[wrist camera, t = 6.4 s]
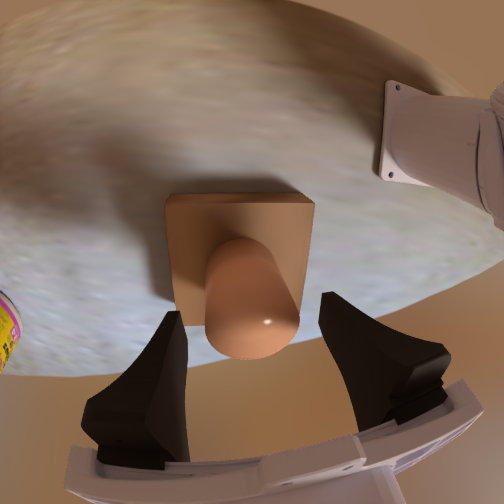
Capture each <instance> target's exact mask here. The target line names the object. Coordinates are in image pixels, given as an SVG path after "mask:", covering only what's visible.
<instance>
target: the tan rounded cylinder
mask: <svg viewBox="0 0 504 504" xmlns="http://www.w3.org/2000/svg"><path fill="white" fill-rule="evenodd" d="M299 322H300V316H299V312H298V309H297V307H296V304H295V302H294V300H293V298H292V295H291V293H290V291H289V289H288V287H287V285H286V282H285V280H284V278H283V276H282V274H281V271H280V269H279V267H278V265H277V263H276V261H275V258H274V256H273V255H272V253H271V251H270V250H269V249H268V248H267V247H266V246H265V245H263V244H262V243H260V242H258V241H255V240H251V239H244V238H243V239H234V240H230V241H227V242H225V243H223V244H221V245H220V246H219V247H217V248H216V249H215V250H214V251H213V252H212V253H211V255H210V256H209V258H208V260H207V263H206V268H205V333H206V336H207V339H208V341H209V343H210V344H211V345H212V346H213V347H214V348H215V349H216V350H217V351H218V352H220V353H222V354H223V355H226V356H228V357H231V358H236V359H243V360H250V359H258V358H263V357H266V356H269V355H272V354H274V353H276V352H278V351H279V350H281V349H282V348H283V347H285V346H286V345H287V344H288V343H289V342H290V341H291V340H292V339H293V337H294V336H295V334H296V332H297V330H298V327H299Z"/></svg>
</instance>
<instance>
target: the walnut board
mask: <svg viewBox="0 0 504 504" xmlns="http://www.w3.org/2000/svg"><path fill="white" fill-rule="evenodd" d="M164 206H165V219H166V231H167V241H168V251H169V260H170V268H171V276H172V284H173V291H174V298H175V305H176V311H179V310H180V313H181V317H182V321H183V325H184V326H200V325H205V268H206V263H207V260H208V258H209V256H210V255H211V253H212V252H213V251H214V250H215V249H216V248H217V247H219V246H220V245H221V244H223V243H225V242H227V241H230V240H234V239H243V238H244V239H251V240H255V241H258V242H260V243H262V244H263V245H265V246H266V247H267V248H268V249H269V250H270V251H271V253H272V255H273V256H274V258H275V261H276V263H277V265H278V267H279V269H280V271H281V274H282V276H283V278H284V280H285V282H286V285H287V287H288V289H289V291H290V293H291V295H292V298H293V300H294V302H295V304H296V307H297V309H298V312H299V314H300V308H301V302H302V296H303V289H304V283H305V277H306V270H307V263H308V256H309V249H310V241H311V233H312V225H313V217H314V208H315V203H314V202H313V201H312V200H310V199H309V198H308V197H306V196H305V195H304V194H303V193H201V194H176V195H170V196H169V198H168V200H167V202H166V204H165V205H164Z"/></svg>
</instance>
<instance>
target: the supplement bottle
mask: <svg viewBox="0 0 504 504" xmlns="http://www.w3.org/2000/svg"><path fill="white" fill-rule="evenodd" d="M22 330H23V326H22V321H21V318H20V316H19V313H18V312H17V310H16V308H15V307H14V305H13V304H12V303H11V302H10V300H9V299H8V298H7V297H5V296H4V295H3V294H2V293H0V374H1V372H2V370H3V368H4V366H5V364H6V362H7V360H8V358H9V356H10V355H11V353H12V351H13V349H14V347H15V346H16V344H17V342H18V340H19V339H20V337H21V335H22Z"/></svg>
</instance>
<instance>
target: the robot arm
mask: <svg viewBox="0 0 504 504" xmlns="http://www.w3.org/2000/svg"><path fill="white" fill-rule="evenodd" d="M396 86H397V88H398V90H396ZM389 172H391V175H390V176H389V175H388V174H389ZM379 177H380V178H381V179H383V180H386V181H394V182H402V183H409V184H416V185H423V186H429V187H435V188H437V189H439V190H442V191H444V192H446V193H448V194H451V195H453V196H455V197H457V198H459V199H461V200H463V201H465V202H468V203H470V204H472V205H474V206H476V207H478V208H480V209H481V210H483V211H485V212H487V213H489V214H491V215H492V217H493V219H494V225H495V226H496V227H497V228H499V229H501V230H502V231H504V82H502V83H500V84H499V85H498V86H497V87H496V89H495V91H494V92H493V93H492V94H491V96H490V100H489V99H480V98H471V97H458V96H439V95H430V94H428V93H425V92H423V91H420V90H418V89H415V88H413V87H410V86H408V85H405V84H402V83H399V82H397V81H394V80H388V81H387V82H386V84H385V108H384V124H383V136H382V147H381V156H380V165H379ZM318 324H319V327H320V330H321V333H322V335H323V338H324V340H325V342H326V344H327V346H328V348H329V350H330V352H331V354H332V356H333V358H334V360H335V362H336V364H337V366H338V368H339V370H340V372H341V374H342V376H343V379H344V382H345V384H346V387H347V390H348V393H349V396H350V399H351V403H352V406H353V410H354V413H355V417H356V421H357V425H358V430H359V433H357V434H353V435H348V436H343V437H339V438H336V439H332V440H328V441H325V442H321V443H317V444H313V445H309V446H306V447H301V448H297V449H291V450H286V451H282V452H278V453H274V454H271V455H267V456H261V457H254V458H245V459H236V460H226V461H210V462H190V456H189V448H188V440H187V429H186V416H185V386H186V375H187V364H188V340H187V336H186V332H185V329H184V325H183V321H182V317H181V313H180V310H179V311H168V312H167V313H166V315H165V317H164V318H163V320H162V322H161V324H160V325H159V327H158V329H157V330H156V332H155V334H154V335H153V337H152V338H151V340H150V341H149V343H148V344H147V346H146V347H145V348H144V350H143V351H142V353H141V354H140V355H139V356H138V358H137V359H136V360H135V361H134V362H133V363H132V365H131V366H130V367H129V368H128V369H127V370H126V371H125V372H124V373H123V374H122V375H121V376H120V377H119V378H117V379H116V380H115V381H114V382H113V383H111V384H110V385H109V386H108V387H106V388H105V389H104V390H102V391H101V392H99V393H98V394H96V395H95V396H93V397H92V398H90V399H88V400H87V403H86V406H85V409H84V413H83V417H82V422H81V427H82V429H83V430H84V432H85V433H86V434H87V435H88V436H89V437H90V438H91V439H93V440H94V441H95V442H96V443H97V444H98V445H99V446H98V451H97V450H95V449H93V448H89V447H83V446H78V445H74V444H72V445H71V446H70V452H69V456H68V462H67V468H66V475H65V481H64V489H65V490H67V491H69V492H71V493H73V494H75V495H77V496H79V497H81V498H84V499H85V500H88V501H90V502H92V503H95V504H406V502H405V499H404V497H403V495H402V492H401V490H400V487H399V485H398V483H397V480H396V478H395V476H394V475H395V474H397V473H399V472H401V471H403V470H405V469H406V468H408V467H410V466H412V465H414V464H415V463H417V462H419V461H421V460H422V459H424V458H425V457H427V456H428V455H430V454H432V453H433V452H435V451H436V450H438V449H440V448H441V447H443V446H444V445H446V444H447V443H449V442H450V441H452V440H453V439H455V438H456V437H457V436H459V435H460V434H462V433H463V432H464V431H465V430H466V429H467V428H468V427H469V426H470V425H471V424H472V423H473V422H474V421H475V420H476V419H477V418H478V417H479V416H480V415H481V414H482V413H483V412H484V408H483V407H482V405H481V404H480V402H479V401H478V399H477V398H476V396H475V395H474V394H473V392H472V391H471V390H470V388H469V387H468V385H467V384H466V382H465V381H464V380H463V379H460V380H458V381H457V382H455V383H453V384H451V385H450V386H449V387H447V388H446V389H445V390H444V389H443V388H442V385H443V381H442V380H441V377H442V375H443V374H444V372H445V370H446V369H447V367H448V366H449V364H450V361H451V354H450V353H449V352H448V351H447V349H446V348H445V347H444V346H443V344H440V343H436V342H430V341H425V340H422V339H418V338H415V337H412V336H409V335H406V334H403V333H401V332H398V331H396V330H394V329H391V328H389V327H387V326H385V325H383V324H381V323H379V322H378V321H376V320H374V319H373V318H371V317H369V316H368V315H366V314H365V313H363V312H362V311H360V310H359V309H357V308H356V307H354V306H353V305H351V304H350V303H349V302H347V301H346V300H345V299H343V298H342V297H340V296H339V295H338V294H336V293H335V292H333V291H332V292H326V293H322V297H321V306H320V313H319V321H318Z"/></svg>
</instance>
